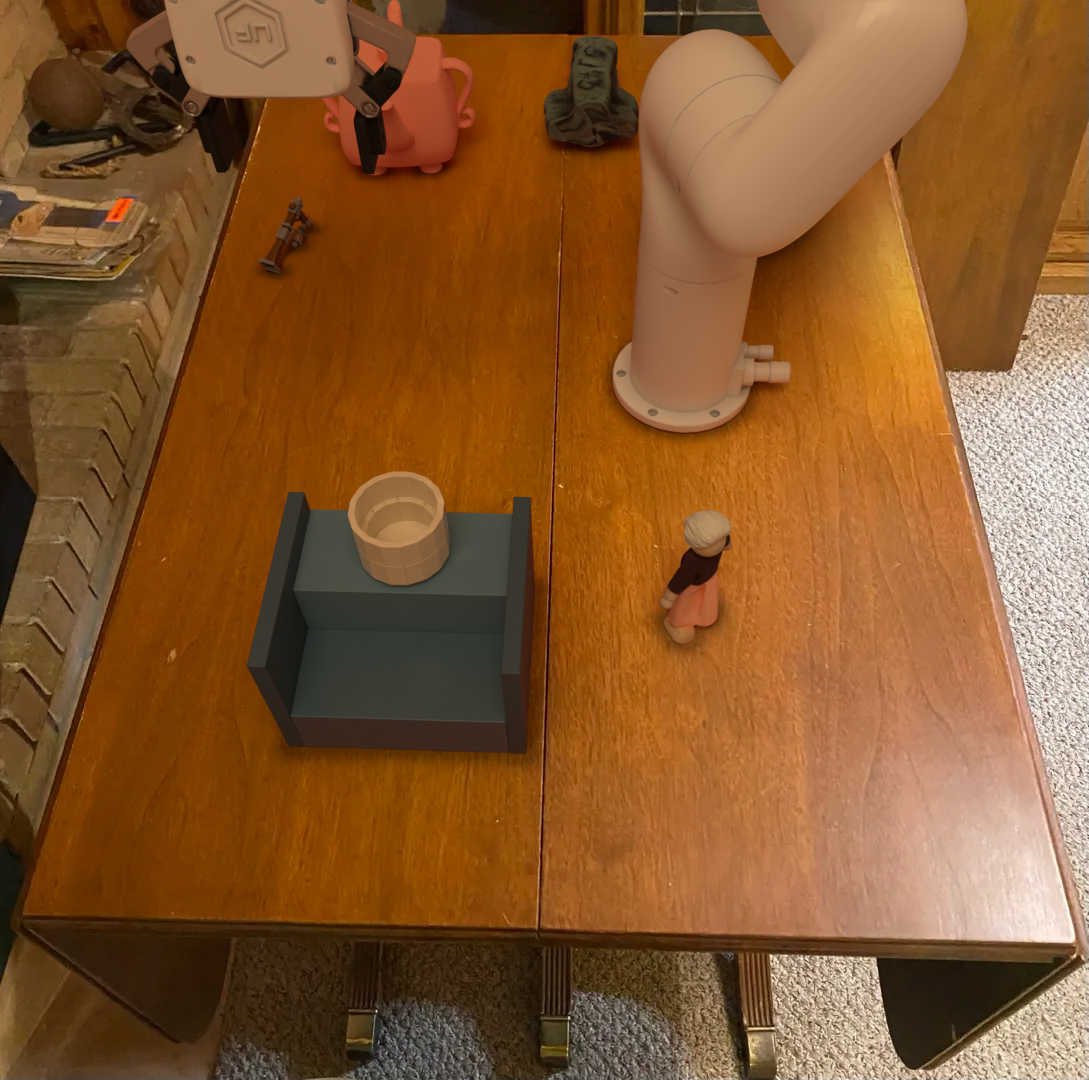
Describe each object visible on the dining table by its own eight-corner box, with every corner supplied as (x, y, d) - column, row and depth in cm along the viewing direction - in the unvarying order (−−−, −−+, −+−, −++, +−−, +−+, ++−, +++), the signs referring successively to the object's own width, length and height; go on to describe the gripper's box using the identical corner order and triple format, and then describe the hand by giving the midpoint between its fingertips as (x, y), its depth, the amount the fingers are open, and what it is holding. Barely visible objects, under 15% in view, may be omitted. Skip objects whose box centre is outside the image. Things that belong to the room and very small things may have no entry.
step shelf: (535, 589, 81) (530, 496, 71) (526, 753, 73) (519, 674, 63) (320, 584, 82) (287, 491, 72) (288, 746, 74) (246, 666, 64)
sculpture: (670, 116, 112) (626, 67, 123) (640, 60, 107) (597, 14, 117) (579, 184, 115) (544, 130, 125) (545, 132, 110) (511, 81, 120)
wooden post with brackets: (321, 218, 108) (304, 194, 103) (291, 285, 106) (271, 264, 102) (307, 214, 108) (289, 190, 104) (276, 280, 107) (256, 259, 103)
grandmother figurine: (691, 663, 77) (711, 569, 67) (647, 640, 78) (659, 544, 68) (736, 590, 81) (761, 490, 70) (693, 569, 82) (711, 468, 72)
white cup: (454, 516, 73) (448, 472, 69) (446, 590, 69) (438, 548, 65) (367, 514, 73) (355, 470, 69) (354, 588, 70) (341, 545, 66)
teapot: (399, 212, 110) (382, 102, 99) (306, 148, 117) (281, 39, 106) (500, 153, 116) (494, 44, 105) (407, 96, 123) (392, -12, 112)
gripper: (46, -95, 52) (156, 194, 66) (384, -95, 51) (423, 197, 65) (90, -156, 56) (184, 127, 70) (402, -157, 55) (435, 129, 69)
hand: (299, 161), depth 67 cm, fingers open, 9 cm apart
